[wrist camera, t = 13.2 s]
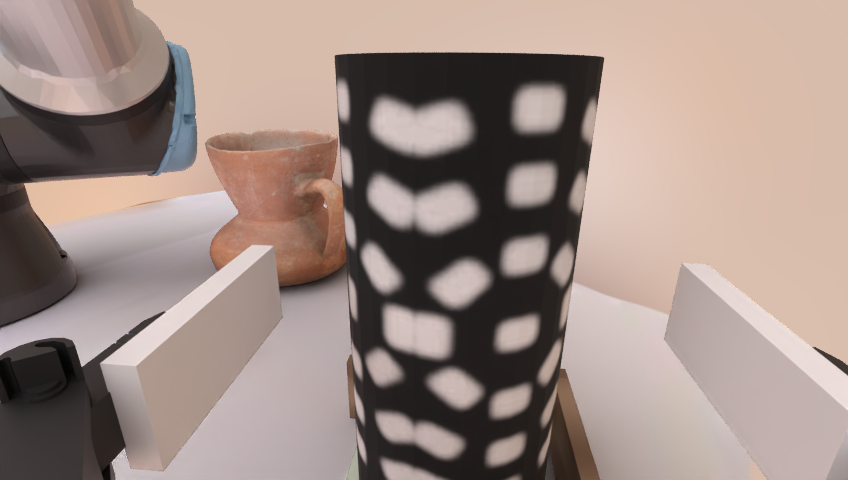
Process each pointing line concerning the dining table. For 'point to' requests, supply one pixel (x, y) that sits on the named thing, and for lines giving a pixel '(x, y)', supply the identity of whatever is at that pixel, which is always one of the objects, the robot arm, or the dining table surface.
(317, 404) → the dining table surface
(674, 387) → the dining table surface
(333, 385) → the dining table surface
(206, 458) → the dining table surface
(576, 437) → the tray
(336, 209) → the ceramic jug
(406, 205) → the white-spotted black cylinder
